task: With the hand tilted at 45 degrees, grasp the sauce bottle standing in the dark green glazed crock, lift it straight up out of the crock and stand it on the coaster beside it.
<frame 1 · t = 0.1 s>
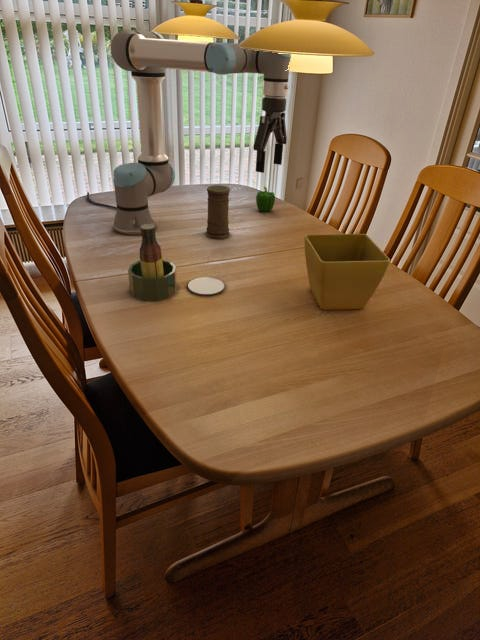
hand: (268, 168, 147), 28 cm above the table, tool pointing down, fingers open, 13 cm apart
crock: (153, 289, 130), on the table
flower pot: (335, 299, 131), on the table
coaster: (206, 287, 133), on the table
container: (217, 235, 169), on the table
sauce bottle: (153, 290, 130), resting in crock
bell pepper: (264, 210, 196), on the table
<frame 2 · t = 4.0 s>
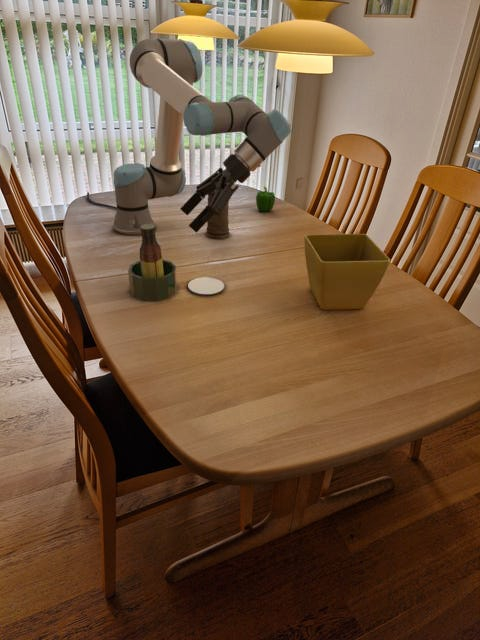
hand: (187, 220, 122), 21 cm above the table, tool tilted 45°, fingers open, 13 cm apart
nothing on the table moved.
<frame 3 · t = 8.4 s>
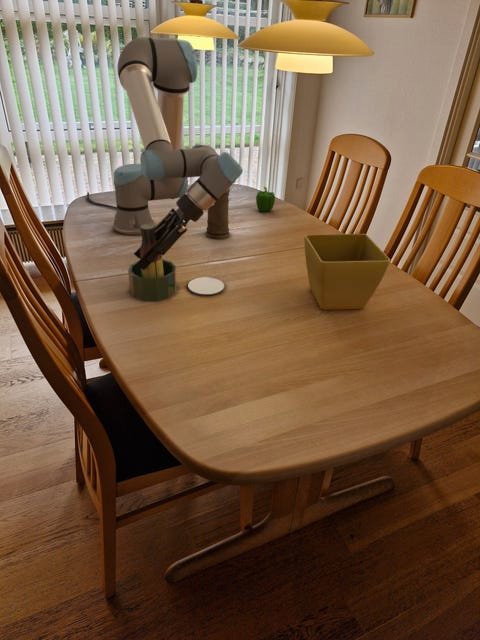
hand: (139, 261, 124), 9 cm above the table, tool tilted 45°, fingers closed on sauce bottle, 6 cm apart
sauce bottle: (153, 290, 130), resting in crock, touching gripper
everything else where it was.
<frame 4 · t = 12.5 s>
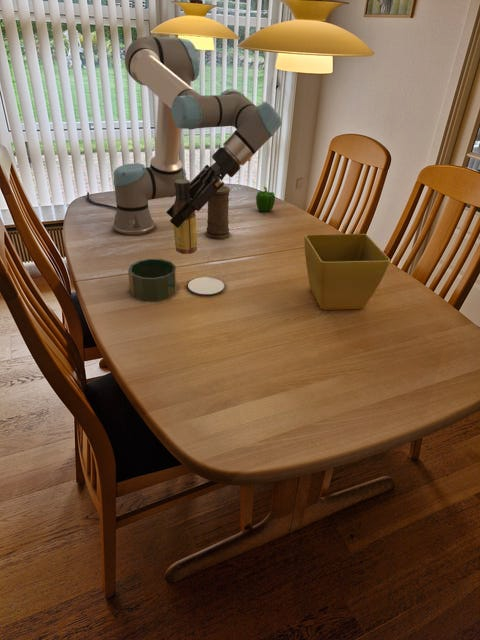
hand: (171, 219, 120), 21 cm above the table, tool tilted 45°, fingers closed on sauce bottle, 6 cm apart
sauce bottle: (185, 251, 126), point 12 cm above the table, touching gripper
everything else where it was.
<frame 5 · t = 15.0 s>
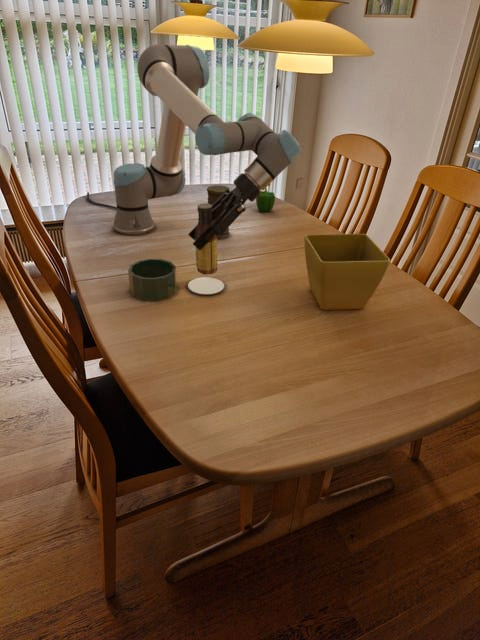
hand: (194, 242, 124), 15 cm above the table, tool tilted 45°, fingers closed on sauce bottle, 6 cm apart
sauce bottle: (206, 271, 130), point 5 cm above the table, touching gripper
everything else where it was.
when the fingers open (10 cm above the table, at t = 16.8 s): sauce bottle stays where it is, resting on coaster.
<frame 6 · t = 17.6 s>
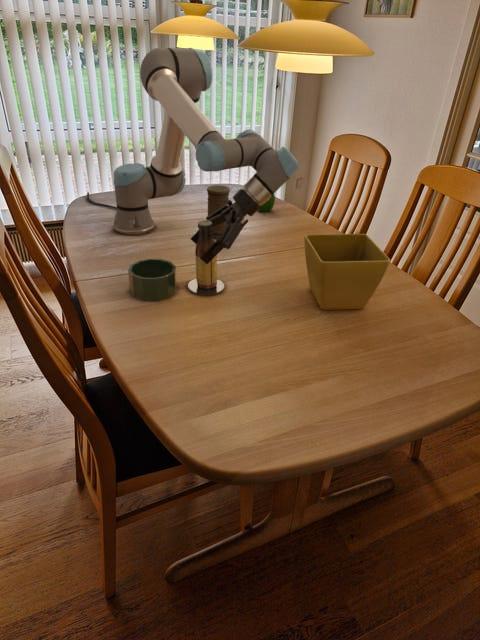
hand: (198, 251, 126), 12 cm above the table, tool tilted 45°, fingers open, 13 cm apart
sauce bottle: (206, 285, 133), resting on coaster
everything else where it was.
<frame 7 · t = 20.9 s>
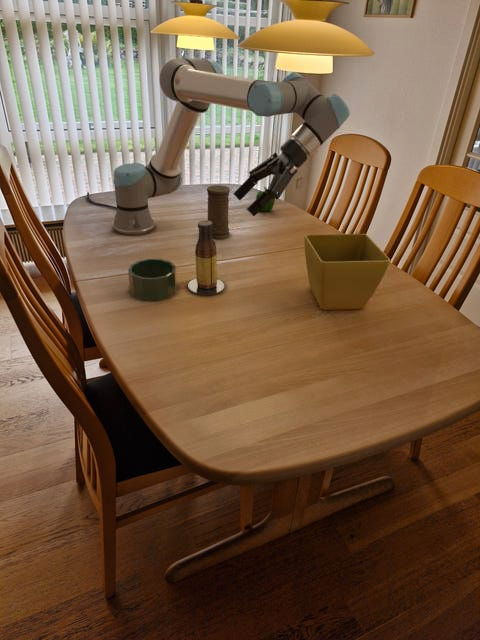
hand: (243, 204, 123), 25 cm above the table, tool tilted 45°, fingers open, 13 cm apart
nothing on the table moved.
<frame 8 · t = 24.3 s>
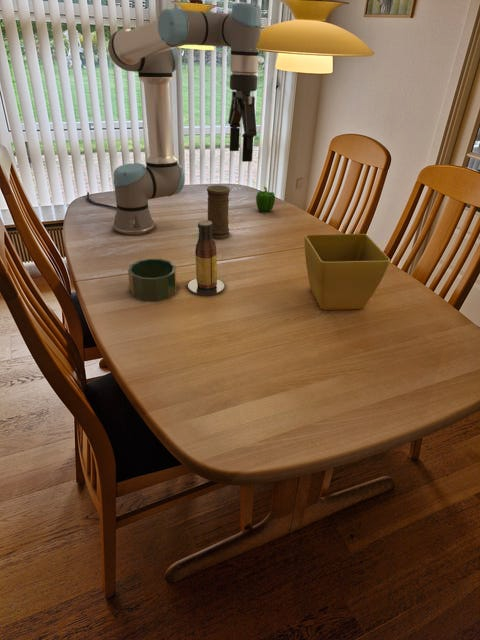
hand: (240, 156, 130), 35 cm above the table, tool pointing down, fingers open, 13 cm apart
nothing on the table moved.
at the end: sauce bottle inside the target area on the coaster (0.1 cm from its centre), point 0.4 cm above the coaster's base; sauce bottle tilted 0°; the gripper is holding nothing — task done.
